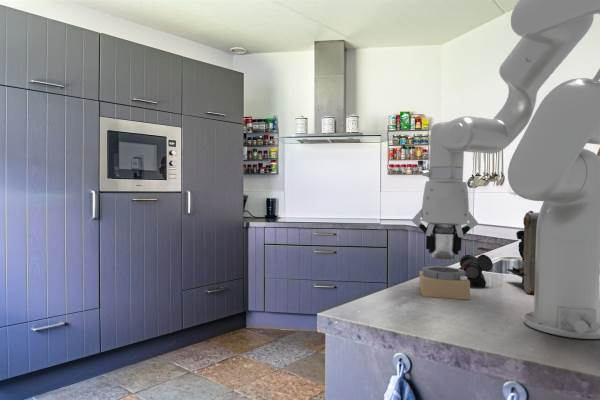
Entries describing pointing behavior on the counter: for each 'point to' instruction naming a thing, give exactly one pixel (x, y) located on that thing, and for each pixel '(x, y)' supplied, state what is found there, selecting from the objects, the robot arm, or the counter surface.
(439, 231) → the lens
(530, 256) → the vintage camera
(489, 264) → the night vision scope
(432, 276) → the mount
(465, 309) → the counter surface
